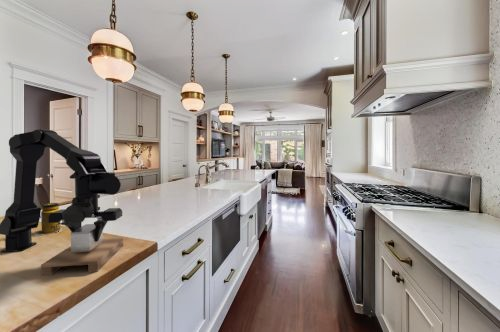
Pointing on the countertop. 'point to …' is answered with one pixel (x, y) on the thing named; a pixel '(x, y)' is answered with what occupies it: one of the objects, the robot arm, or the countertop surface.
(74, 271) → the countertop surface
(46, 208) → the condiment
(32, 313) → the countertop surface
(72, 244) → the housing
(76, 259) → the stand
